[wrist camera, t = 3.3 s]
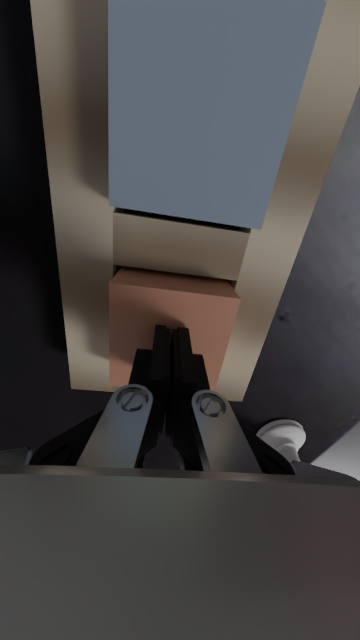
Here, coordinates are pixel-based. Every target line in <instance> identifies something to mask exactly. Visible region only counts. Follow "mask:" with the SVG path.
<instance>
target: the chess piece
mask: <svg viewBox="0 0 360 640" xmlns="http://www.w3.org/2000/svg"><path fill="white" fill-rule="evenodd" d="M256 436H258V437H259V438H260V439H262V440H263V441H264V442H266V443H267V444H268V445H270V446H271V447H272V448H274V449H275V450H276V451H278V452H279V453H280V454H281V455H283V456H284V457H285V458H286V459H287V460H288V462H292V460H296V461H300V460H299V457H298V454H297V452H298V449H299V448H300V447H301V446H302V445H303V444H304V442H305V439H306V435H305V432H304V430H303V427H302V426H301V424H299V423H298V422H296V421H294V420H288V419H282V420H276V421H273V422H270V423H268V424H266V425H265V426H263V427H262V428H261V429H260V430H259V431H258V432H257V434H256Z"/></svg>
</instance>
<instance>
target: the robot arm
mask: <svg viewBox="0 0 360 640" xmlns="http://www.w3.org/2000/svg"><path fill="white" fill-rule="evenodd" d="M165 411H166V423H165V436H166V437H170V445H171V446H173V447H174V448H175V449H176V450H177V451H178V452H179V453H180V454H179V461H180V466H181V470H163V469H143V468H144V464H145V460H146V454H147V453H148V452H149V451H150V450H151V449H152V448H154V447H155V446H156V444H157V437H158V436H162V430H163V423H164V417H165ZM0 640H360V481H358V480H357V479H355V478H353V477H351V476H349V475H346V474H342V473H339V472H335V471H331V470H328V469H325V468H321V467H317V466H314V465H311V464H307V463H303V462H300V461H296V460H292V462H288V460H287V459H286V458H285V457H284V456H283V455H281V454H280V453H279V452H278V451H276V450H275V449H274V448H272V447H271V446H270V445H268V444H267V443H266V442H264V441H263V440H262V439H260V438H259V437H258V436H256V435H255V434H254V433H252V432H251V431H250V430H248V429H247V428H246V427H244V426H243V425H241V424H240V423H239V422H238V421H237V419H236V416H235V414H234V412H233V410H232V408H231V406H230V404H229V402H228V401H227V399H226V398H225V397H224V396H222V395H221V394H219V393H218V392H215V391H212V390H210V385H209V381H208V377H207V372H206V368H205V363H204V359H203V355H202V354H193V352H192V346H191V340H190V333H189V328H184V327H178V328H177V329H173V334H172V341H171V348H170V329H167V328H166V326H165V325H155V333H154V341H153V349H152V350H150V349H139V348H137V350H136V354H135V358H134V362H133V366H132V370H131V374H130V379H129V383H128V385H125V386H122V387H120V388H119V389H117V390H116V391H115V392H114V394H113V395H112V397H111V399H110V401H109V403H108V405H107V406H106V408H105V409H104V410H102V411H100V412H98V413H97V414H95V415H93V416H92V417H90V418H88V419H86V420H85V421H83V422H81V423H79V424H78V425H76V426H74V427H72V428H71V429H69V430H67V431H65V432H64V433H62V434H60V435H59V436H57V437H55V438H53V439H52V440H50V441H48V442H47V443H45V444H44V445H42V446H41V447H40V448H39V449H36V450H31V449H30V447H26V448H19V449H13V450H7V451H0Z"/></svg>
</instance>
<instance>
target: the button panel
mask: <svg viewBox="0 0 360 640" xmlns="http://www.w3.org/2000/svg"><path fill="white" fill-rule="evenodd" d="M325 1H327V3H326V6H325V9H324V13H323V16H322V20H321V23H320V27H319V30H318V34H317V37H316V41H315V44H314V48H313V51H312V55H311V58H310V62H309V65H308V69H307V72H306V76H305V79H304V83H303V86H302V89H301V93H300V96H299V100H298V103H297V107H296V110H295V114H294V117H293V121H292V124H291V128H290V131H289V135H288V138H287V142H286V145H285V149H284V152H283V156H282V159H281V162H280V166H279V169H278V173H277V176H276V180H275V183H274V187H273V190H272V194H271V197H270V201H269V204H268V208H267V211H266V215H265V218H264V222H263V225H262V229H261V230H259V229H252V228H246V227H240V226H235V228H228V227H222V226H215V225H209V224H202V223H196V222H189V221H183V220H177V219H170V218H164V217H157V216H151V215H144V214H138V213H131V212H125V208H118V207H112V206H109V134H108V0H30V5H31V14H32V24H33V33H34V42H35V52H36V61H37V70H38V80H39V89H40V98H41V108H42V117H43V127H44V136H45V145H46V155H47V164H48V173H49V183H50V192H51V201H52V211H53V220H54V230H55V239H56V248H57V258H58V267H59V276H60V286H61V295H62V304H63V314H64V323H65V332H66V342H67V351H68V361H69V370H70V379H71V389H83V390H96V391H110V392H115V391H116V390H117V389H119V388H120V387H118V386H109V282H110V281H111V280H112V278H113V277H114V276H115V275H116V274H117V272H118V271H119V270H120V269H121V267H122V266H129V267H136V268H144V269H152V270H159V271H167V272H174V273H182V274H190V275H197V276H205V277H213V278H220V279H223V280H227V281H228V283H229V284H230V285H231V286H232V288H233V289H234V290H235V292H236V293H237V294H238V295H239V297H240V298H241V302H240V305H239V309H238V312H237V316H236V319H235V322H234V326H233V329H232V333H231V336H230V340H229V343H228V347H227V350H226V354H225V357H224V361H223V364H222V368H221V371H220V375H219V378H218V382H217V385H216V389H215V392H218V393H219V394H221V395H222V396H224V397H225V398H226V399H227V400H230V401H242V400H243V397H244V394H245V392H246V389H247V386H248V384H249V381H250V378H251V376H252V373H253V370H254V368H255V365H256V362H257V360H258V357H259V354H260V352H261V349H262V346H263V344H264V341H265V338H266V335H267V333H268V330H269V327H270V325H271V322H272V319H273V317H274V314H275V311H276V309H277V306H278V303H279V301H280V298H281V295H282V293H283V290H284V287H285V285H286V282H287V279H288V276H289V274H290V271H291V268H292V266H293V263H294V260H295V258H296V255H297V252H298V250H299V247H300V244H301V242H302V239H303V236H304V234H305V231H306V228H307V226H308V223H309V220H310V218H311V215H312V212H313V209H314V207H315V204H316V201H317V199H318V196H319V193H320V191H321V188H322V185H323V183H324V180H325V177H326V175H327V172H328V169H329V167H330V164H331V161H332V159H333V156H334V153H335V150H336V148H337V145H338V142H339V140H340V137H341V134H342V132H343V129H344V126H345V124H346V121H347V118H348V116H349V113H350V110H351V108H352V105H353V102H354V100H355V97H356V94H357V91H358V89H359V86H360V0H325Z"/></svg>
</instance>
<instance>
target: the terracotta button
mask: <svg viewBox="0 0 360 640" xmlns="http://www.w3.org/2000/svg"><path fill="white" fill-rule="evenodd" d="M240 302H241V298H240V297H239V295H238V294H237V293H236V292H235V290H234V289H233V288H232V286H231V285H230V284H229V283H228V281H227V280H223V279H215V278H208V277H200V276H192V275H185V274H177V273H169V272H162V271H154V270H146V269H139V268H131V267H124V266H122V267H121V269H120V270H119V271H118V272H117V274H116V275H115V276H114V277H113V278H112V280H111V281H110V282H109V386H118V387H122V386H125V385H128V383H129V379H130V374H131V370H132V366H133V362H134V358H135V354H136V350H137V348H139V349H150V350H152V349H153V341H154V333H155V325H165V326H166V328H167V329H170V348H171V341H172V334H173V329H177V328H178V327H184V328H189V333H190V340H191V346H192V352H193V354H202V355H203V359H204V363H205V368H206V372H207V377H208V381H209V385H210V390H212V391H215V389H216V385H217V382H218V378H219V375H220V371H221V368H222V364H223V361H224V357H225V354H226V350H227V347H228V343H229V340H230V336H231V333H232V329H233V326H234V322H235V319H236V316H237V312H238V309H239V305H240Z"/></svg>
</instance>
